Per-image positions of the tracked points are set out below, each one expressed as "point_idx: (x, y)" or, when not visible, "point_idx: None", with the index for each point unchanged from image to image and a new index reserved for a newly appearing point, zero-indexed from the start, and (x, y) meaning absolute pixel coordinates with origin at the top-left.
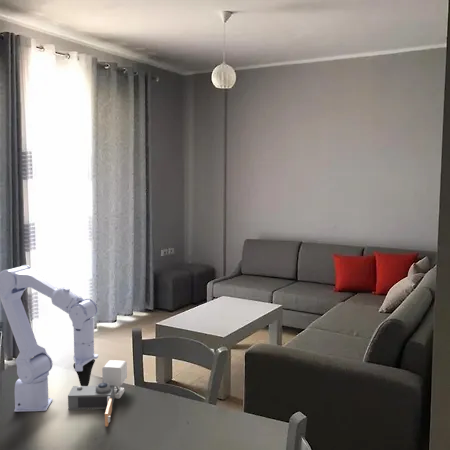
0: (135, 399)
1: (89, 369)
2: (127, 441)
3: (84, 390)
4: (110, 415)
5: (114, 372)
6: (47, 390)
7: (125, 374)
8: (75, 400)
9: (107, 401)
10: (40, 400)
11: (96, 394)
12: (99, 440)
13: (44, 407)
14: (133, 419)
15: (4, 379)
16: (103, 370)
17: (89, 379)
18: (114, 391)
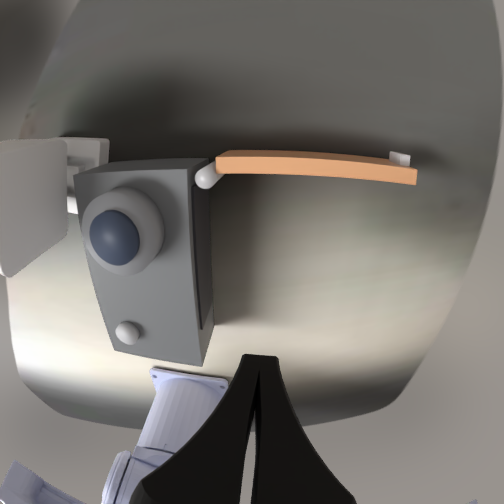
0: (122, 66)
1: (341, 489)
2: (485, 96)
3: (142, 312)
4: (296, 151)
5: (13, 196)
6: (176, 415)
7: (2, 143)
8: (205, 328)
9: (217, 180)
10: (212, 411)
11: (182, 254)
12: (468, 192)
13: (211, 385)
14: (330, 46)
15: (90, 421)
16: (17, 265)
17: (254, 382)
18: (72, 173)
